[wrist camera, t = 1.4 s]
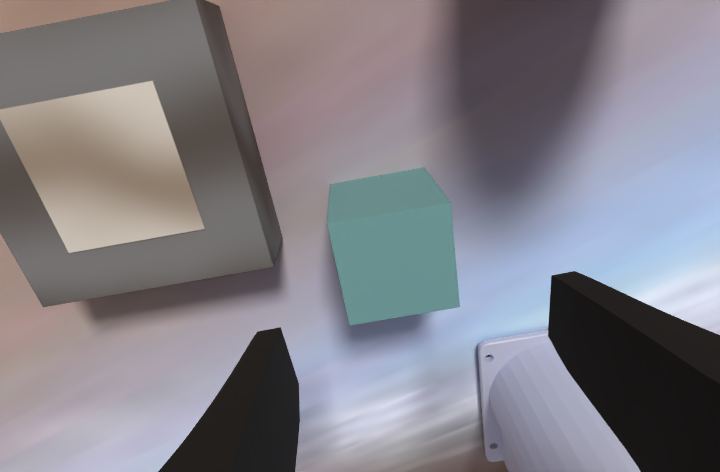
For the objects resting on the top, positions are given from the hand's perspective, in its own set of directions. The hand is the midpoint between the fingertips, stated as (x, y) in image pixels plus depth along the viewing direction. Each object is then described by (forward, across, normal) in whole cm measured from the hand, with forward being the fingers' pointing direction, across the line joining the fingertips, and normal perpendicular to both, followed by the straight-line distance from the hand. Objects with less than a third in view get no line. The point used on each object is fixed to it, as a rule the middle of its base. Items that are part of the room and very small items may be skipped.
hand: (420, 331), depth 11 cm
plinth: (+10, +10, -4) cm, 15 cm away
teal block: (+10, 0, +1) cm, 10 cm away
